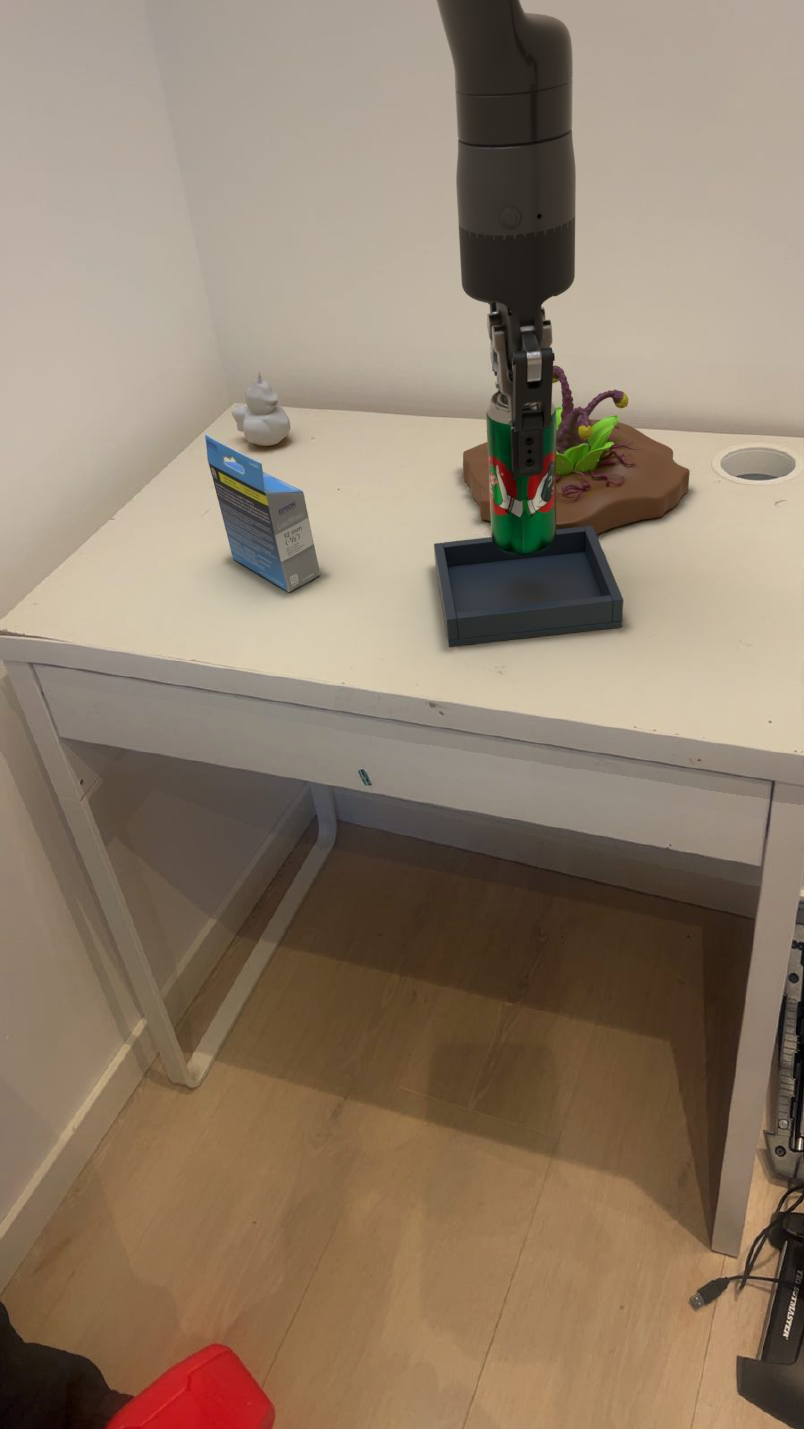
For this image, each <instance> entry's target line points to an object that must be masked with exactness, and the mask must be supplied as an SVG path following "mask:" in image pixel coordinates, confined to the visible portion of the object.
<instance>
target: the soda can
mask: <svg viewBox="0 0 804 1429" xmlns="http://www.w3.org/2000/svg"><path fill="white" fill-rule="evenodd" d="M556 407H557V406H555V404H554V403H553V402H552V406H551V415H552V422H551V427H550V428H546V429H543V453H544V470H543V472H542V473H541V474H540V475H537V476H528V477H516V476H515V475H514V473H513V470H512V455H511V428H510V425H508V418H509V408H508V397H507V396H506V395H504V394H502V393H501V391H498V390H497V391H496V392H494V393H493V394H492V395H491V397H490V405H489V406H488V407H487V410H486V412H485V419H486V420H485V422H486V423H485V424H486V442H487V446H488V468H489V491H490V514H491V521H490V530H491V534H490V535H491V536H490V537H492V541H493V543H494V544H495V545H496V546H497V547H498V548H499V549H500V550H501V551H503V552H504V553H507V554H510V555H514V556H530V555H535V554H538V553H541V552H543V551H544V550H546V549H547V548H548V547H549V546H550V545H551V544H552V543H553V542H554V540H555V538H556ZM534 409H537V408H536V402H534V403H526V404H524V405H523V407H522V411H526V410H534Z"/></svg>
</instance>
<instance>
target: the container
mask: <svg viewBox="0 0 804 1429" xmlns="http://www.w3.org/2000/svg"><path fill="white" fill-rule="evenodd" d="M433 551H434V561H435V572H436V578H437V583H438V590H439V597H440V601H441V608H442V613H443V614H442V615H443V620H444V626H445V632H446V638H447V645H448V647H457V646H465V645H474V644H483V643H491V642H501V641H502V642H503V641H510V640H517V639H518V640H519V639H527V638H537V637H545V636H554V635H563V634H572V633H580V632H590V631H597V630H599V631H601V630H607V629H608V630H609V629H616V628H617V629H619V628H622V627H623V613H624V597H623V596H622V595H623V594H622V592H621V590H620V588H619V585H618V583H617V581H616V579H615V576H614V574H613V572H612V569H611V567H610V564H609V561H608V560H607V557H606V554H605V552H604V550H603V548H602V545H601V542H600V540H599V538H598V534H597V535H596V533H595V530H594V528H593V526H584V527H575V528H566V529H558V530H556V538H555V540H554V542H553V543H552V544H551V545H550V546H549V547H548V548H547V549H546V550H544V551H543V552H541V553H538V554H535V555H530V556H514V555H510V554H507V553H504V552H503V551H501V550H500V549H499V548H498V547H497V546H496V545H495V544H494V543H493V541H492V537H491V536H487V537H479V538H470V539H469V538H468V539H464V540H463V539H461V540H453V541H444V542H436V543H433Z"/></svg>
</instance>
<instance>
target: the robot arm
mask: <svg viewBox="0 0 804 1429" xmlns="http://www.w3.org/2000/svg"><path fill="white" fill-rule="evenodd" d="M436 3H437V7H438V11H439V15H440V16H439V17H440V19H441V23H442V27H443V31H444V33H445V38H446V41H447V44H448V47H449V51H450V55H451V58H452V64H453V70H454V89H455V90H454V92H455V94H454V95H455V112H456V130H457V132H456V133H457V138H458V139H457V162H456V177H455V180H456V181H455V182H456V184H455V186H456V202H457V220H458V221H457V222H458V240H459V258H460V261H459V262H460V275H461V287H462V290H463V292H464V293H465V295H467V296H469V298H471V299H472V300H475V301H478V302H481V303H484V304H488V305H489V313H487V314H486V327H487V332H488V337H489V340H490V349H489V350H490V351H489V352H490V353H489V354H490V356H489V357H490V361H491V370H492V372H493V374H494V376H495V377H496V380H495V382H494V384H495V389H497V392H498V391H501V393H502V394H504V395H506V396H507V397H508V408H509V418H508V425H510V428H511V455H512V470H513V473H514V475H515V476H516V477H528V476H537V475H540V474H541V473H542V472H543V470H544V453H543V429H546V428H550V427H551V422H552V415H551V406H552V403H553V383H552V382H553V366H554V362H555V360H556V355H555V352H554V351H553V348H552V344H553V326H552V321H551V319H546V311H545V310H546V309H545V307H543V306H542V305H543V304H544V303H545V302H546V301H547V300H549V299H551V298H552V297H558V296H560V295H562V294H563V293H565V292H567V291H568V290H569V289H570V288H571V287H572V285H573V283H574V281H575V278H576V277H575V276H576V202H577V200H576V197H577V196H576V194H577V193H576V190H577V184H576V182H577V177H576V176H577V175H576V174H577V173H576V170H577V169H576V157H575V150H574V142H573V140H574V139H573V129H572V128H573V85H574V84H573V83H574V82H573V76H574V74H573V73H574V72H573V71H574V69H573V68H574V66H573V65H574V63H573V60H574V59H573V45H572V38H571V37H572V36H571V33H570V31H569V28H568V27H567V25H566V24H565V23H564V22H563V21H562V20H560V19H559V18H556V17H554V16H550V15H549V14H548V15H547V14H542V13H541V14H540V13H534V12H533V13H532V12H525V11H524V8H523V6H522V4H521V1H520V0H436ZM534 402H536V408H537V409H534V410H526V411H522V407H523V405H524V404H526V403H534Z"/></svg>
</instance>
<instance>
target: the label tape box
mask: <svg viewBox="0 0 804 1429" xmlns="http://www.w3.org/2000/svg"><path fill="white" fill-rule="evenodd" d="M204 440H205V444H206V445H205V447H206V459H207V463H208V468H209V470H210V474H211V477H212V482H213V485H214V490H215V493H216V498H217V501H218V505H219V509H220V513H221V517H222V521H223V525H224V529H225V532H226V535H227V536H226V537H227V540H228V545H229V548H230V549H229V550H230V553H231V556H232V557H231V558H232V560H235V561H236V562H238V563H239V564H241V565H243V566H244V567H246V568H248V569H250V570H251V571H253V572H255V573H256V574H258V575H260V576H261V577H263V578H265V579H266V580H268V581H270V582H271V583H273V584H274V585H277V586H278V587H280V588H281V589H283V590H284V591H286V592H288V593H290V592H292V591H293V590H295V589H297V588H300V587H301V586H304V585H305V584H307V583H309V582H310V581H312V580H314V579H315V578H317V577H318V576H320V575H321V570H320V566H319V562H318V557H317V556H318V555H317V551H316V547H315V543H314V537H313V533H312V528H311V522H310V518H309V513H308V508H307V503H306V498H305V493H304V491H303V490H302V489H301V488H298V487H295V486H294V485H291V484H289V483H288V482H285V481H283V480H281V479H279V478H277V477H276V476H273V475H270V474H268V473H266V472H264V469H263V463H262V462H261V461H259V460H257V459H254V458H251V457H250V456H248V455H245V453H242V452H240V451H239V450H236V449H235V448H233V447H231V446H229V445H227V444H225V443H223V442H221V441H219V440H218V439H216V438H214V437H212V436H210V435H209V434H207V433H206V432H205V433H204ZM225 458H226V459H228V460H230V461H225ZM232 459H233V460H234V461H231V460H232Z"/></svg>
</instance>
